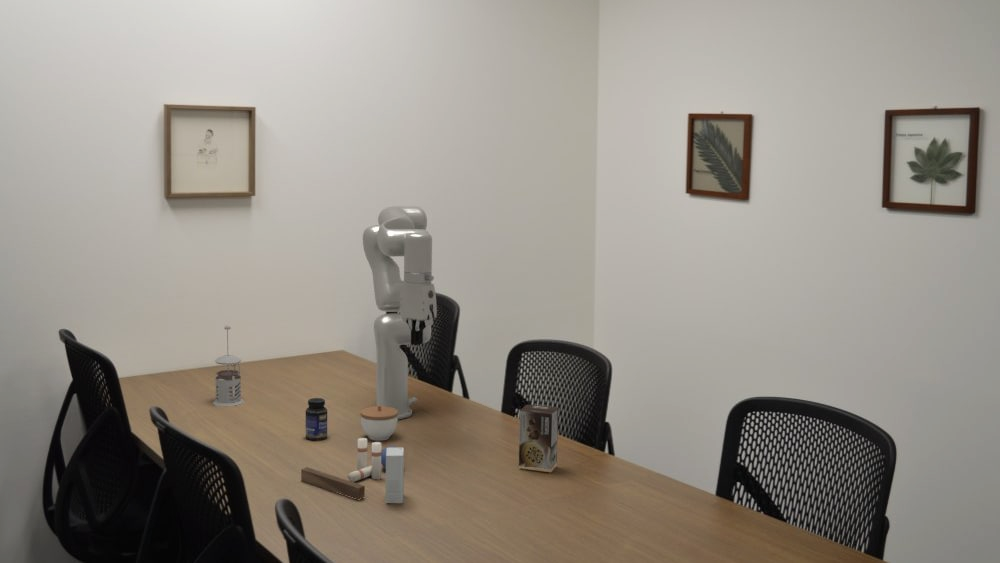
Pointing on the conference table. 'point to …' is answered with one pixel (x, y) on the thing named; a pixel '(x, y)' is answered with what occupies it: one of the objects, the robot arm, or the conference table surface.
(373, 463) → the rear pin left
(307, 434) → the pill bottle
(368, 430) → the lidded jar
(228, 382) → the french press
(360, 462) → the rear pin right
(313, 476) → the bar
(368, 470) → the front pin
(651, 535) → the conference table surface
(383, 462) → the ball
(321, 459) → the conference table surface
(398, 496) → the skincare box
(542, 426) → the coffee box
